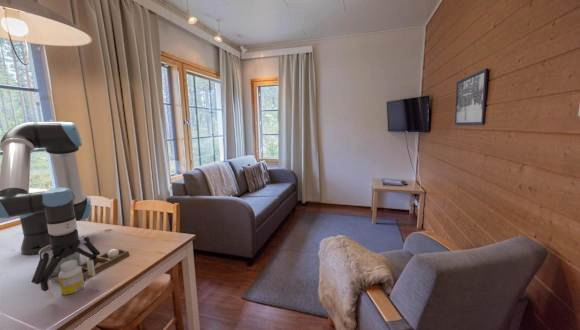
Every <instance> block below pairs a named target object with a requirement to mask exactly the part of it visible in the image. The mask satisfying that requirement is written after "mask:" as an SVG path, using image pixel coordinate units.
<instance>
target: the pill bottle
mask: <svg viewBox="0 0 580 330" xmlns="http://www.w3.org/2000/svg"><path fill="white" fill-rule="evenodd" d="M77 265H78V262H77V260H70V261H67V262H64V263H63V264H61V265H60V268H61V270H62V271H61V272H60V273H59V275H58V276H59V282H60V284H59V287H60V291H61V296H63V297H71V296H75V295H77V294H78V293H80V292H82V291H83V290H84V289H85V281H84V280H85V279H83V273H82V268H81V267H80V265H78V266H77Z"/></svg>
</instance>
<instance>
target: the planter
mask: <svg viewBox="0 0 580 330" xmlns="http://www.w3.org/2000/svg"><path fill="white" fill-rule="evenodd" d="M51 248H52V247H51V244H50V245H48V246H46V247H44V248H42V249H41V250H40V251H39V254H38V256H39V258H40V253H41V252H48V251H51ZM78 248H80V246H79V247H78ZM52 256H53V254H51V257H50V258H49V261H48V264H49V263H50V261H51V258H52ZM57 258H58V257H57ZM70 260H77V262H78V265H77V266H80V263H81V254H79V253H77V252H75V253H74V254H73V255H69V256H68V257H66V258H62V260H61V261H60V262H59V263H58V265H57V266H56V268H55V270H54V271H53V273H52V274H51V276H50V277H57V276H58V275H59V273H60V272H61V271H62V270H61V268H60V265H61V264H63V263H64V262H67V261H70ZM48 264H47V266H48ZM47 266H46V268H47Z"/></svg>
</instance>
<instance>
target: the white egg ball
mask: <svg viewBox="0 0 580 330" xmlns="http://www.w3.org/2000/svg"><path fill="white" fill-rule="evenodd" d="M117 249H118V248H117ZM117 249H115V248H111V249H109V251H107V252H108V253H107V252H106V253H107V256H108V258H110V259H113V258H115V257H117V256H118V255H119V251H118V250H117Z"/></svg>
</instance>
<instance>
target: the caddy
mask: <svg viewBox="0 0 580 330" xmlns="http://www.w3.org/2000/svg"><path fill="white" fill-rule="evenodd" d="M114 249H117V250H118V251H119V255H118V256H117V257H115V258H113V259H110V258H108V256H107V253H108V251H107V252H105V253H102V254H101V255H97V259H95V261H96V266H94V269H95V274H97V273H99V272H101V271H102V270H104V269H106V268H108V267H110V266H111V265H114V264H116V263H117V262H119V261H121V260H123V259H124V258H127V257H129V256H130V251H129V250H126V249H122V248H117V247H115V248H114ZM79 266H80V267H81V268H82V273H83V279H84V280H85V279H87V278H89V277H92V275H89V273H88V267H87V261H86V262H84V263H82V264H79ZM54 281H55V282H54V283H57V284H59V285H60V282H59V276H54Z"/></svg>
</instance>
